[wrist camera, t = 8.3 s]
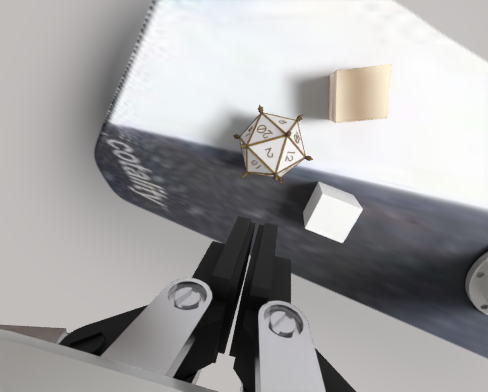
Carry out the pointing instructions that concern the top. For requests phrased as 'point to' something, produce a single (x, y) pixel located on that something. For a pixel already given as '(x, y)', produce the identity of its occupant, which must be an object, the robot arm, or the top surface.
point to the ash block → (359, 94)
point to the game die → (272, 145)
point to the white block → (331, 212)
